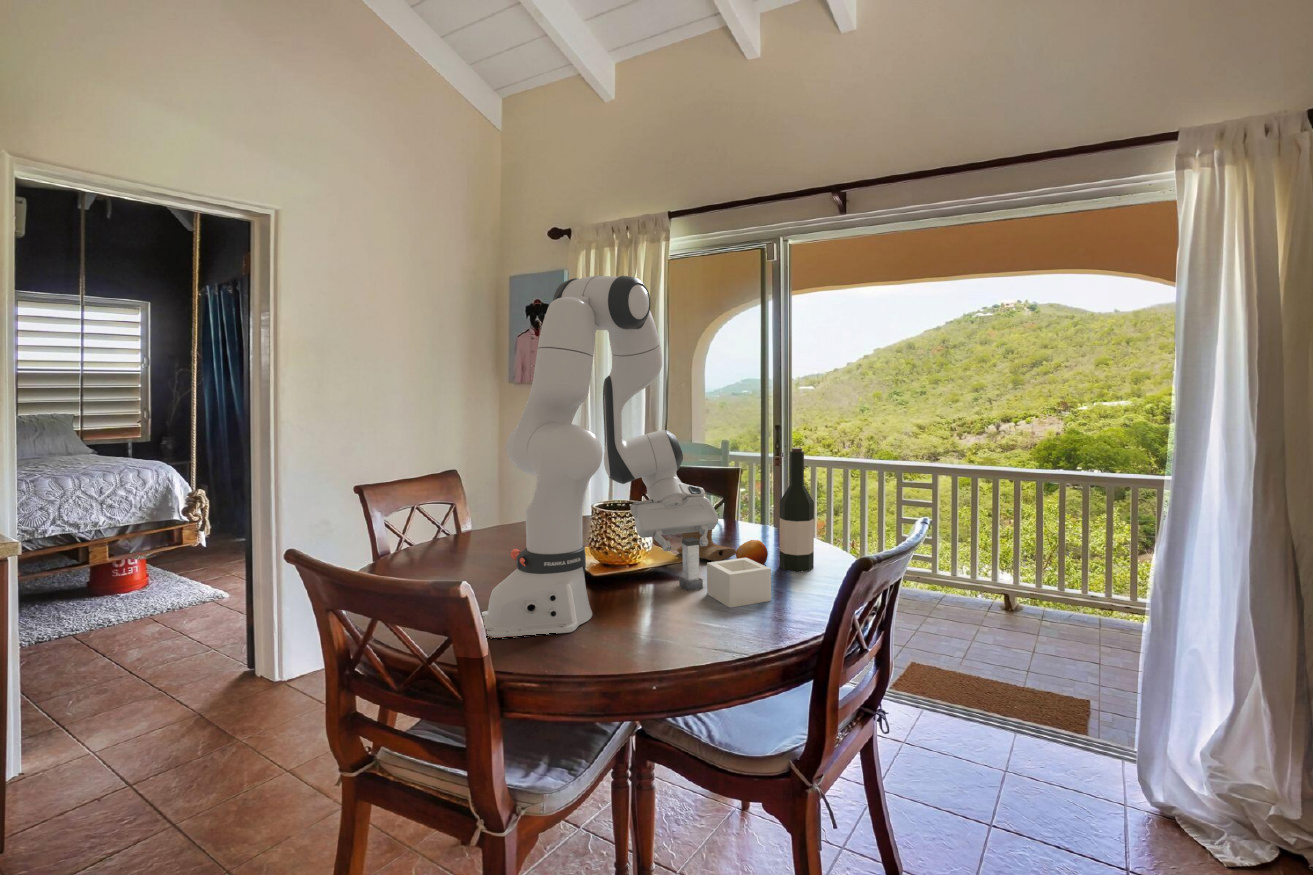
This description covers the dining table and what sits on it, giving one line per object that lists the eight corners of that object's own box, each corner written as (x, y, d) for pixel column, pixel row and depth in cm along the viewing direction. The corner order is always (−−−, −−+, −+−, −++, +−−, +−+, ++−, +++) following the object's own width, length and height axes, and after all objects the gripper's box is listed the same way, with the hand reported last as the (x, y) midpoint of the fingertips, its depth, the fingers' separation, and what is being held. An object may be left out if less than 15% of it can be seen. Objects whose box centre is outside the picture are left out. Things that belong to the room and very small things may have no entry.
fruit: (774, 566, 162) (757, 538, 162) (747, 582, 163) (730, 554, 164) (775, 558, 170) (759, 531, 170) (749, 572, 171) (733, 546, 172)
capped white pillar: (686, 590, 149) (686, 542, 148) (679, 585, 152) (678, 538, 152) (702, 588, 150) (702, 540, 149) (694, 583, 154) (694, 536, 153)
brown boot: (665, 556, 179) (665, 501, 178) (697, 548, 187) (697, 495, 185) (705, 567, 167) (704, 508, 166) (737, 559, 175) (737, 502, 174)
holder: (729, 607, 137) (729, 574, 137) (707, 593, 146) (706, 562, 146) (770, 600, 141) (770, 568, 140) (746, 587, 150) (746, 557, 150)
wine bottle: (820, 568, 165) (821, 448, 163) (796, 573, 161) (797, 450, 158) (796, 561, 172) (796, 446, 170) (772, 566, 167) (772, 448, 165)
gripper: (631, 494, 154) (648, 544, 146) (709, 487, 163) (729, 535, 154) (625, 510, 159) (641, 559, 151) (701, 502, 167) (720, 549, 159)
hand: (686, 547), depth 153 cm, fingers open, 8 cm apart
